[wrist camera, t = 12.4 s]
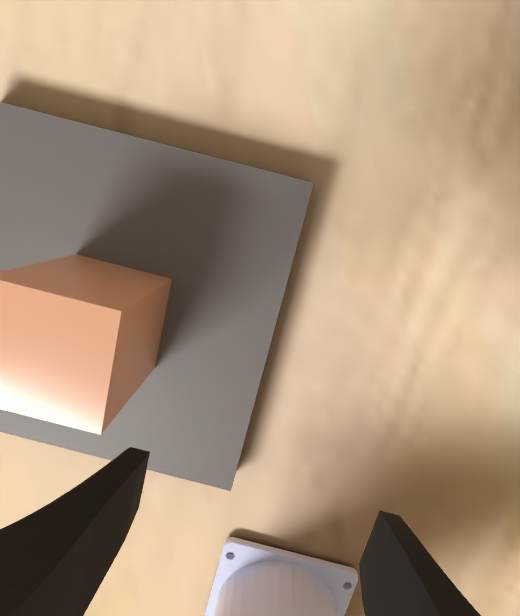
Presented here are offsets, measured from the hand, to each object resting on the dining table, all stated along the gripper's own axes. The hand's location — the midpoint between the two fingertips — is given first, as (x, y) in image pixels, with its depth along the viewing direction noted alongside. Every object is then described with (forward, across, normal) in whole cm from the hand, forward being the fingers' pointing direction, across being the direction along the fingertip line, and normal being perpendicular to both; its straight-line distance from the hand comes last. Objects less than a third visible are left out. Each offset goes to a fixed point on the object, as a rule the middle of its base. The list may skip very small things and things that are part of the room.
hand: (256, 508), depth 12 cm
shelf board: (+9, +8, -2) cm, 13 cm away
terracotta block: (+8, +8, -2) cm, 11 cm away
